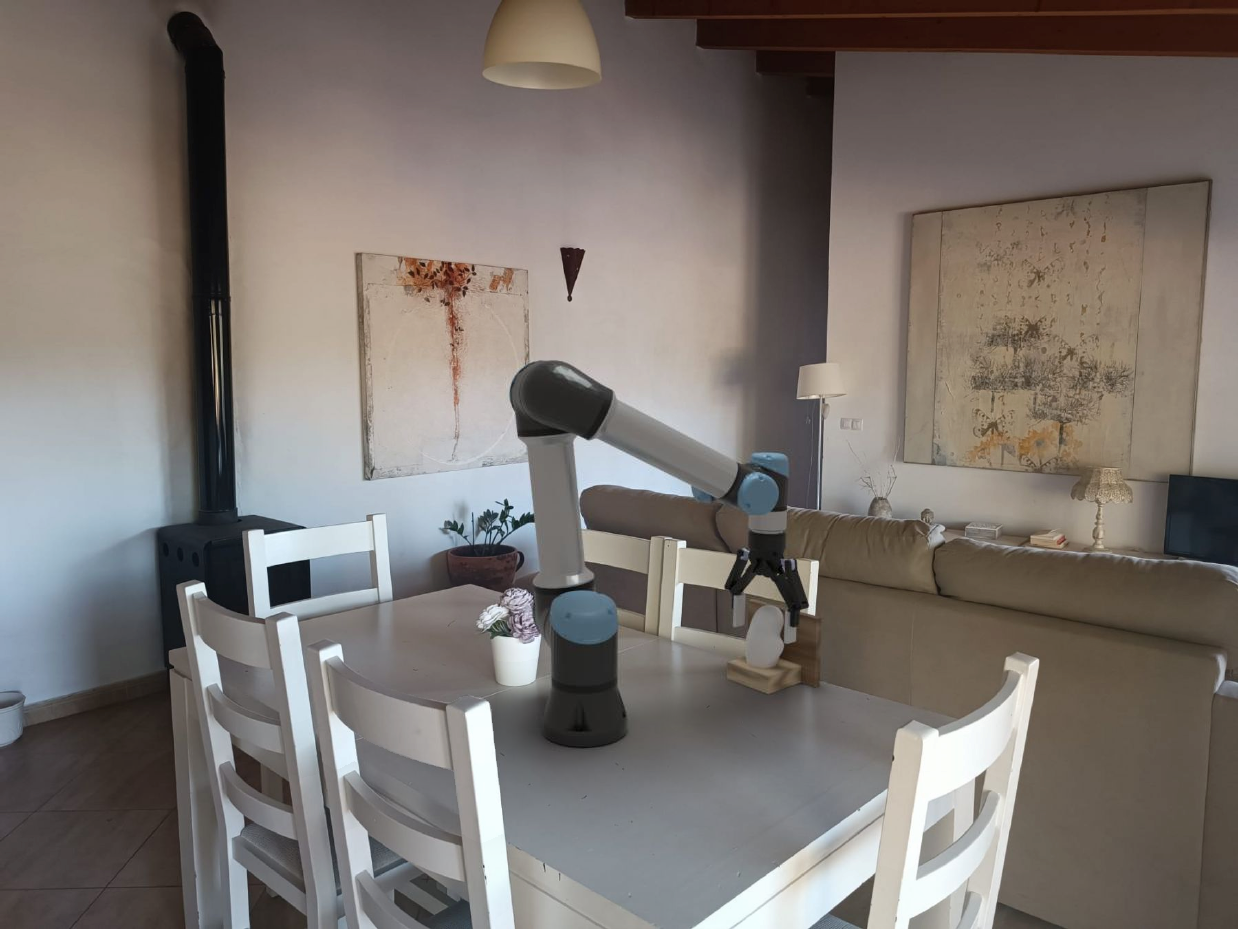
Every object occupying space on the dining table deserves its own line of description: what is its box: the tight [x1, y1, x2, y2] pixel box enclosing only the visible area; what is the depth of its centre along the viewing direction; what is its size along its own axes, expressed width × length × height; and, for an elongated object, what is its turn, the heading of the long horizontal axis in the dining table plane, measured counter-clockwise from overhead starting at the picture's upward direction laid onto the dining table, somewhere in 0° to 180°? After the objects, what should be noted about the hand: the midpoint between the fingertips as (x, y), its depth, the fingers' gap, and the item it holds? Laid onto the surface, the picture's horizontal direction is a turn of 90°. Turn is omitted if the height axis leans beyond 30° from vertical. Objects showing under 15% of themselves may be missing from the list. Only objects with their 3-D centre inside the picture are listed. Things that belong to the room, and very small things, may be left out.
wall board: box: [726, 598, 822, 695], centre depth 175 cm, size 12×18×14 cm, turn 39°
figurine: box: [744, 605, 784, 668], centre depth 174 cm, size 7×8×12 cm
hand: (763, 634), depth 174 cm, fingers open, 13 cm apart
